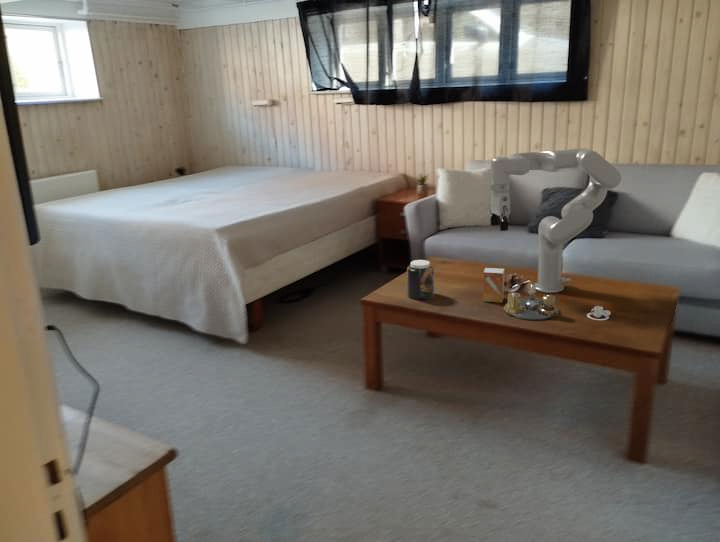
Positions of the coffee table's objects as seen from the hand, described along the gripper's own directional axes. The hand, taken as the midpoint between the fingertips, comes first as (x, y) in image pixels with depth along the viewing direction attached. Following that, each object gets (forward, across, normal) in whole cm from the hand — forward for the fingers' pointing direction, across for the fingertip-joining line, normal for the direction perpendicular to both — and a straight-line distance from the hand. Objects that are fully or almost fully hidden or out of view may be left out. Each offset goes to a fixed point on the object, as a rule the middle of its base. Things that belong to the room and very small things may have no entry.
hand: (499, 227), depth 252 cm
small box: (+28, -9, +6) cm, 30 cm away
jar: (+28, +6, +33) cm, 44 cm away
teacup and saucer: (+29, -41, -25) cm, 56 cm away
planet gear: (+27, -25, +4) cm, 37 cm away
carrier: (+28, -25, -3) cm, 38 cm away
